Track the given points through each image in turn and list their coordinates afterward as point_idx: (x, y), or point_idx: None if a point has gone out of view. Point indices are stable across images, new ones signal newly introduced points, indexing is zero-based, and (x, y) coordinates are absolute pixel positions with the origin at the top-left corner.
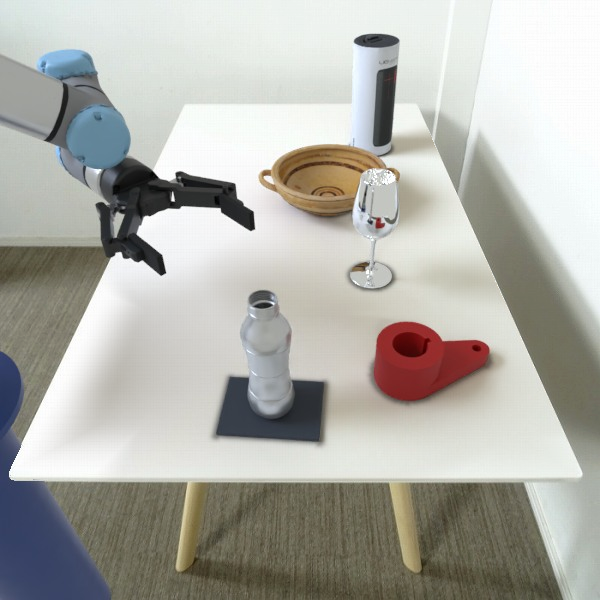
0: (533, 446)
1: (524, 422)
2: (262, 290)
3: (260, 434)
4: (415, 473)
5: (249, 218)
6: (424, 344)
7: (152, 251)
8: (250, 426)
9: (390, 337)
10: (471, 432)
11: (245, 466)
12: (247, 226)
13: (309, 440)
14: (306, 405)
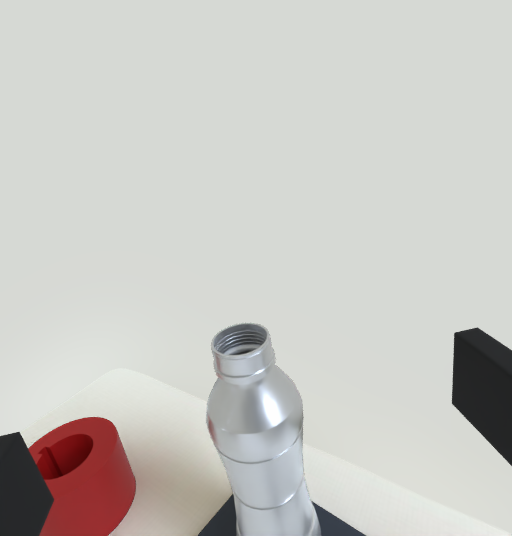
0: (110, 386)
1: (87, 402)
2: (224, 354)
3: (324, 511)
4: (204, 402)
5: (28, 453)
6: (46, 463)
7: (505, 354)
8: (333, 534)
9: (63, 479)
10: (128, 412)
11: (362, 482)
12: (38, 509)
13: None
14: (235, 524)
